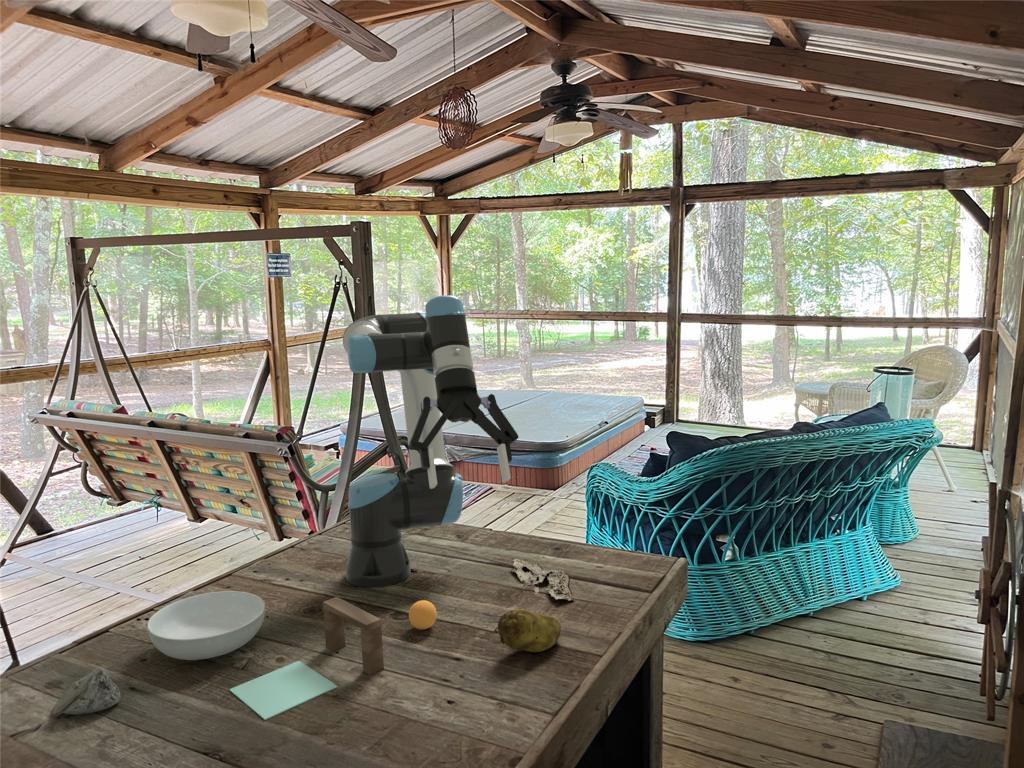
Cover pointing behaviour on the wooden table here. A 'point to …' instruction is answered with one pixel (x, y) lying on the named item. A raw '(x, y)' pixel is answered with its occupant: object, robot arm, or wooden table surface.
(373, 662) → the bridge
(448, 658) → the wooden table surface
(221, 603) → the serving bowl
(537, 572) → the driftwood
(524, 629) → the potato
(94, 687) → the grey rock
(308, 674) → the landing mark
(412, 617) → the ball
